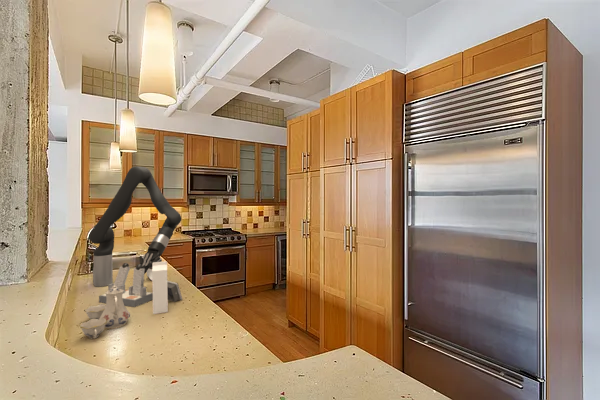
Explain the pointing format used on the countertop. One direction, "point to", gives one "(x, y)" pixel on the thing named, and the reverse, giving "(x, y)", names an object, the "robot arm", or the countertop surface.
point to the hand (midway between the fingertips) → (141, 273)
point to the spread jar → (149, 273)
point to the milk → (159, 287)
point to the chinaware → (106, 314)
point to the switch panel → (130, 296)
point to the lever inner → (122, 275)
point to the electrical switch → (173, 291)
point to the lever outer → (138, 279)
